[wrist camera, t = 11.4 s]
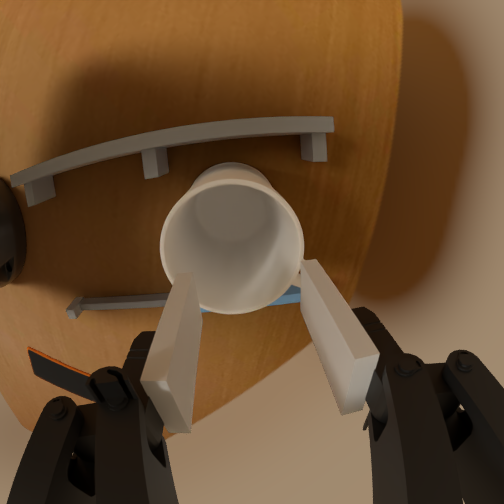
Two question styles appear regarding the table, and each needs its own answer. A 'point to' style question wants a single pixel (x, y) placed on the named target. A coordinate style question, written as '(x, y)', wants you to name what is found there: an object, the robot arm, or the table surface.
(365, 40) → the table surface
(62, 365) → the smartphone
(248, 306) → the mug
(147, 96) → the table surface
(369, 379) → the robot arm
